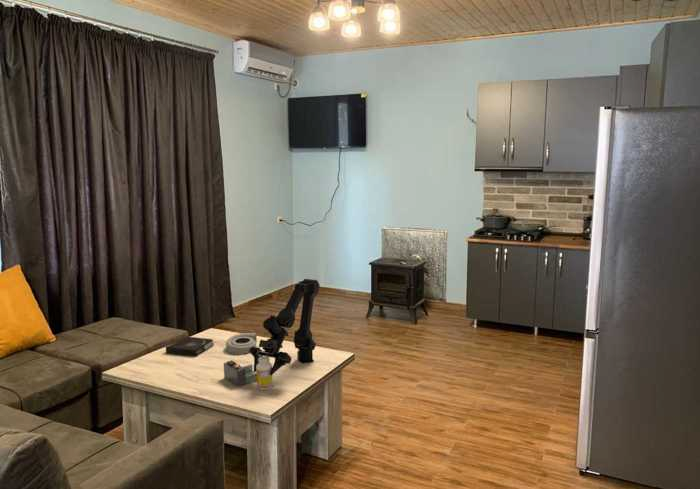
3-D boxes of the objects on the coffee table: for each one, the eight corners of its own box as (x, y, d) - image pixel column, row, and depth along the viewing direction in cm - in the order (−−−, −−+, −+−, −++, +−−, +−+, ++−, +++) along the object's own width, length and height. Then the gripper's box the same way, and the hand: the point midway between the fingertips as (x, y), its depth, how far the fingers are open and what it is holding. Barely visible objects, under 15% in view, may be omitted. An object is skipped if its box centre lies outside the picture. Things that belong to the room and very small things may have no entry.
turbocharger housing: (223, 357, 267) (253, 357, 267) (222, 344, 266) (252, 344, 266) (230, 343, 284) (259, 343, 284) (230, 331, 282) (258, 331, 282)
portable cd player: (196, 358, 264) (196, 350, 263) (166, 354, 268) (165, 346, 268) (213, 346, 279) (213, 339, 279) (185, 343, 284) (184, 336, 283)
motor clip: (251, 370, 247) (250, 353, 246) (264, 378, 238) (264, 360, 237) (224, 378, 238) (223, 360, 237) (237, 386, 229) (236, 368, 228)
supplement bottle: (257, 384, 232) (256, 355, 230) (273, 383, 233) (272, 355, 231) (256, 390, 226) (255, 361, 224) (272, 390, 226) (271, 360, 224)
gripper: (250, 328, 233) (235, 361, 225) (287, 334, 225) (273, 369, 217) (261, 340, 241) (247, 372, 233) (297, 346, 233) (284, 380, 225)
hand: (262, 373), depth 227 cm, fingers open, 8 cm apart
